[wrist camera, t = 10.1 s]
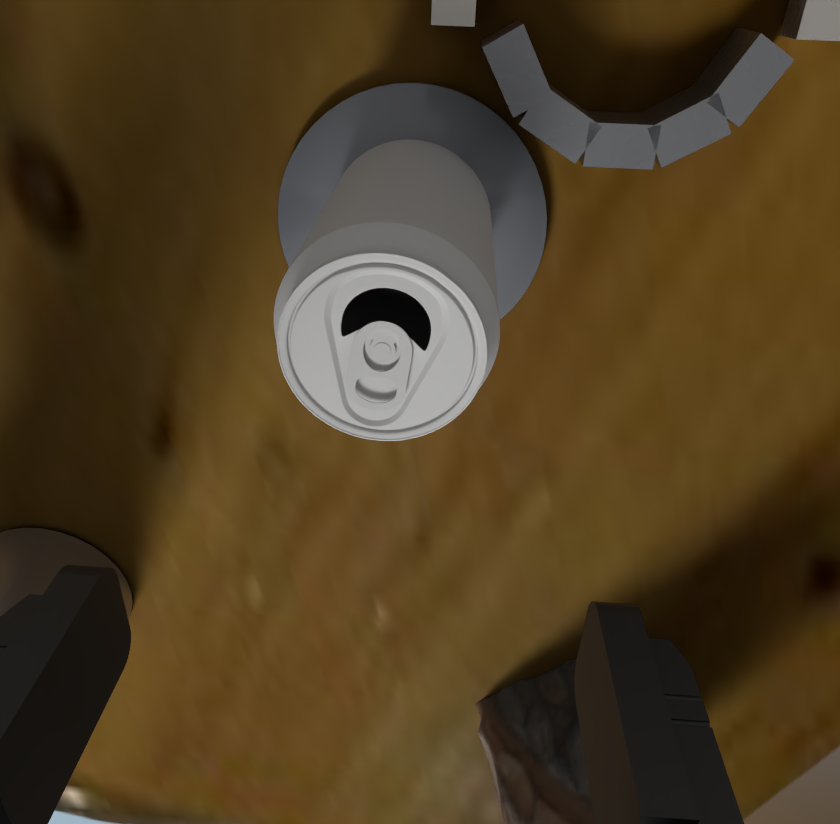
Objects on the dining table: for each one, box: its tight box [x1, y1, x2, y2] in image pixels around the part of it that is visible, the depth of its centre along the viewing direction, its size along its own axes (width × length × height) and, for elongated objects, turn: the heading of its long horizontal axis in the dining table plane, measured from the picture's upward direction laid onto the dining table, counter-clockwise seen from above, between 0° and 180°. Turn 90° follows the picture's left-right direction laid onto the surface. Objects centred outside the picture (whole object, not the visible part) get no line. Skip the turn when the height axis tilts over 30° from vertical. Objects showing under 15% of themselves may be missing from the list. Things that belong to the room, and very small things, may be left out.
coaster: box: [278, 82, 547, 320], centre depth 30 cm, size 11×11×1 cm
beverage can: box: [274, 140, 500, 441], centre depth 24 cm, size 6×6×12 cm
